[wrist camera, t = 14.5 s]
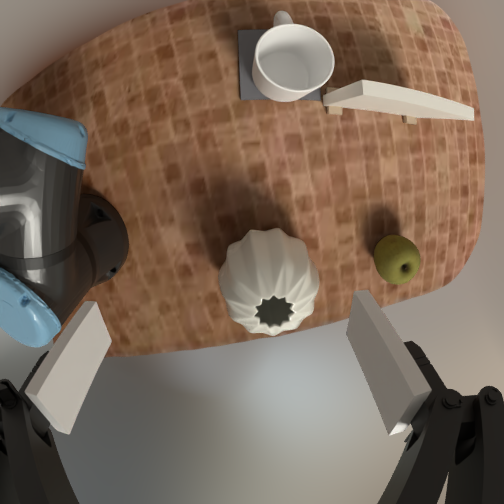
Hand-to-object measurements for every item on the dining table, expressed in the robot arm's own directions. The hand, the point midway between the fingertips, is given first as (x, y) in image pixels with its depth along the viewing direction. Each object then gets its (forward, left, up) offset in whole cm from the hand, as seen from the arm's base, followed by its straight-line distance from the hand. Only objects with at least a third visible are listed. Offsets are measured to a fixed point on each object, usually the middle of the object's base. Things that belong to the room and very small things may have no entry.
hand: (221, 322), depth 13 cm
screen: (+21, +14, -29) cm, 38 cm away
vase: (+4, -11, -29) cm, 31 cm away
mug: (+7, +19, -28) cm, 35 cm away
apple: (+25, -10, -29) cm, 39 cm away
